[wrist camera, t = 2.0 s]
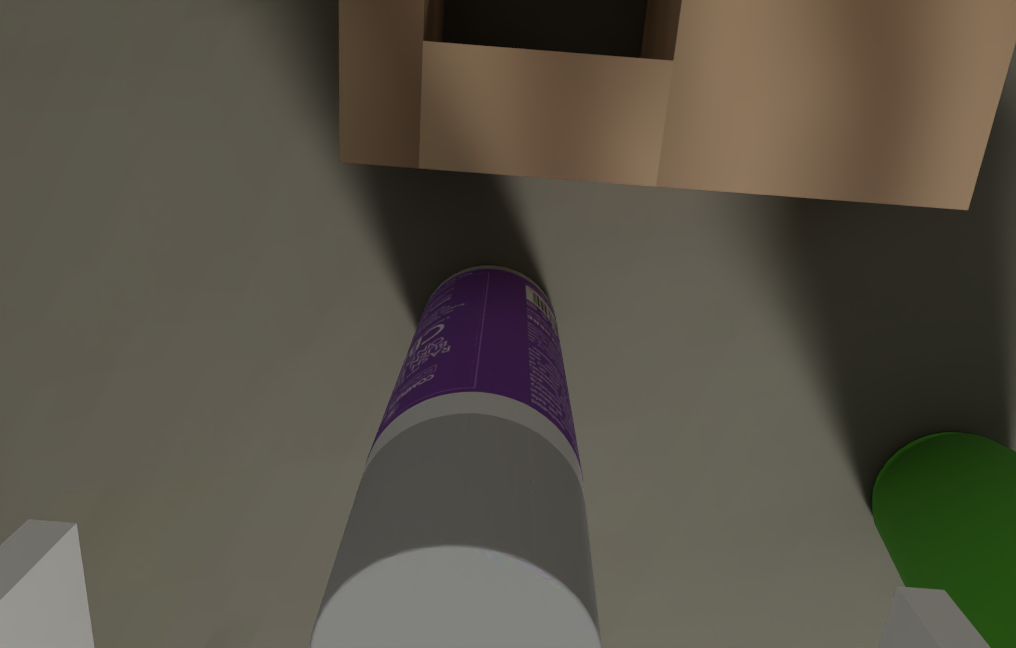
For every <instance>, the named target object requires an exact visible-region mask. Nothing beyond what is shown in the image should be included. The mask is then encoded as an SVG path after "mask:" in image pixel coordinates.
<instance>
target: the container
mask: <svg viewBox="0 0 1016 648" xmlns="http://www.w3.org/2000/svg"><path fill="white" fill-rule="evenodd" d="M310 648H602V646H601V637H600V628H599V620H598V611H597V602H596V594H595V585H594V576H593V568H592V559H591V550H590V542H589V533H588V524H587V516H586V507H585V499H584V489H583V477H582V471H581V465H580V459H579V453H578V447H577V441H576V435H575V429H574V423H573V417H572V411H571V405H570V399H569V393H568V387H567V382H566V376H565V370H564V364H563V358H562V352H561V346H560V340H559V334H558V328H557V322H556V318H555V314H554V310H553V308H552V305H551V303H550V301H549V299H548V298H547V296H546V295H545V293H544V292H543V291H542V289H541V288H540V287H539V286H538V285H537V284H536V283H535V282H534V281H532V280H531V279H530V278H528V277H527V276H525V275H524V274H522V273H520V272H518V271H515V270H513V269H510V268H506V267H502V266H495V265H483V266H475V267H471V268H467V269H464V270H462V271H459V272H457V273H455V274H453V275H452V276H450V277H449V278H447V279H446V280H445V281H444V282H442V283H441V284H440V285H439V286H438V287H437V289H436V290H435V291H434V292H433V294H432V295H431V297H430V298H429V300H428V302H427V304H426V306H425V309H424V311H423V314H422V316H421V319H420V322H419V324H418V327H417V329H416V332H415V335H414V337H413V340H412V343H411V345H410V348H409V350H408V353H407V356H406V358H405V361H404V364H403V366H402V369H401V372H400V374H399V377H398V379H397V382H396V385H395V387H394V390H393V393H392V395H391V398H390V400H389V403H388V406H387V408H386V411H385V414H384V416H383V419H382V421H381V424H380V427H379V429H378V432H377V435H376V437H375V440H374V443H373V445H372V448H371V450H370V453H369V456H368V459H367V462H366V466H365V469H364V472H363V475H362V479H361V482H360V485H359V488H358V491H357V494H356V497H355V500H354V504H353V507H352V510H351V513H350V516H349V519H348V522H347V525H346V528H345V531H344V535H343V538H342V541H341V544H340V547H339V550H338V553H337V556H336V559H335V563H334V566H333V569H332V572H331V575H330V578H329V581H328V584H327V587H326V590H325V594H324V597H323V600H322V603H321V606H320V609H319V612H318V615H317V618H316V622H315V625H314V628H313V631H312V636H311V641H310Z"/></svg>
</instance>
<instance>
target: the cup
mask: <svg viewBox="0 0 1016 648" xmlns="http://www.w3.org/2000/svg"><path fill="white" fill-rule="evenodd" d="M872 504H873V505H872V512H873V517H874V522H875V525H876V527H877V529H878V531H879V533H880V536H881V538H882V540H883V542H884V544H885V546H886V548H887V550H888V552H889V554H890V556H891V558H892V560H893V562H894V564H895V566H896V568H897V570H898V572H899V574H900V577H901V579H902V581H903V583H904V585H905V587H912V588H925V589H938V590H945V591H946V593H947V594H948V595H949V596H950V598H951V599H952V600H953V601H954V603H955V604H956V605H957V606H958V608H959V609H960V610H961V611H962V613H963V614H964V615H965V616H966V618H967V619H968V620H969V621H970V623H971V624H972V625H973V626H974V628H975V629H976V630H977V631H978V633H979V634H980V635H981V636H982V638H983V639H984V640H985V641H986V643H987V644H988V645H989V646H990V648H1016V452H1015V451H1013V450H1011V449H1009V448H1007V447H1005V446H1003V445H1001V444H999V443H997V442H995V441H993V440H991V439H989V438H986V437H983V436H979V435H975V434H970V433H959V432H943V433H937V434H932V435H928V436H925V437H923V438H920V439H917V440H915V441H913V442H911V443H909V444H908V445H906V446H905V447H903V448H902V449H900V450H899V451H897V452H896V453H895V454H894V455H893V456H892V457H891V458H890V459H889V460H888V461H887V462H886V464H885V465H884V467H883V468H882V470H881V471H880V473H879V474H878V477H877V479H876V482H875V485H874V487H873V496H872Z"/></svg>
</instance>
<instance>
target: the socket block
mask: <svg viewBox="0 0 1016 648" xmlns="http://www.w3.org/2000/svg"><path fill="white" fill-rule="evenodd" d="M444 2H445V0H339V162H341V163H354V164H367V165H381V166H394V167H407V168H420V169H433V170H446V171H459V172H472V173H486V174H499V175H512V176H525V177H538V178H551V179H564V180H578V181H591V182H604V183H617V184H630V185H643V186H656V187H669V188H683V189H696V190H709V191H722V192H735V193H748V194H761V195H774V196H788V197H801V198H814V199H827V200H840V201H853V202H866V203H879V204H893V205H906V206H919V207H932V208H945V209H958V210H968V209H969V205H970V202H971V198H972V195H973V191H974V188H975V184H976V181H977V177H978V174H979V170H980V167H981V163H982V160H983V156H984V153H985V149H986V145H987V142H988V138H989V135H990V131H991V128H992V124H993V121H994V117H995V114H996V110H997V107H998V103H999V100H1000V96H1001V93H1002V89H1003V86H1004V82H1005V79H1006V75H1007V71H1008V68H1009V64H1010V61H1011V57H1012V54H1013V50H1014V47H1015V43H1016V0H648V1H647V9H646V17H645V25H644V33H643V41H642V49H641V57H640V58H632V57H620V56H607V55H594V54H582V53H569V52H556V51H544V50H531V49H518V48H506V47H493V46H480V45H468V44H455V43H443V26H444Z"/></svg>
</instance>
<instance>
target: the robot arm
mask: <svg viewBox="0 0 1016 648" xmlns="http://www.w3.org/2000/svg"><path fill="white" fill-rule="evenodd" d="M0 648H94V643H93V636H92V629H91V622H90V615H89V608H88V601H87V594H86V587H85V580H84V573H83V566H82V558H81V551H80V544H79V537H78V530H77V523H68V522H55V521H42V520H29V519H28V520H27V521H26V522H25V523H24V524H23V525H22V526H21V527H20V528H19V529H17V530H16V531H15V532H14V533H13V534H12V535H11V536H10V537H9V538H7V539H6V540H5V541H4V542H3V543H2V544H1V545H0ZM878 648H990V646H989V645H988V644H987V643H986V641H985V640H984V639H983V638H982V636H981V635H980V634H979V633H978V631H977V630H976V629H975V628H974V626H973V625H972V624H971V623H970V621H969V620H968V619H967V618H966V616H965V615H964V614H963V613H962V611H961V610H960V609H959V608H958V606H957V605H956V604H955V603H954V601H953V600H952V599H951V598H950V596H949V595H948V594H947V593H946V591H945V590H938V589H925V588H912V587H899V586H897V587H896V590H895V593H894V597H893V600H892V603H891V606H890V610H889V613H888V616H887V620H886V623H885V626H884V630H883V633H882V636H881V639H880V643H879V646H878Z"/></svg>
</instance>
